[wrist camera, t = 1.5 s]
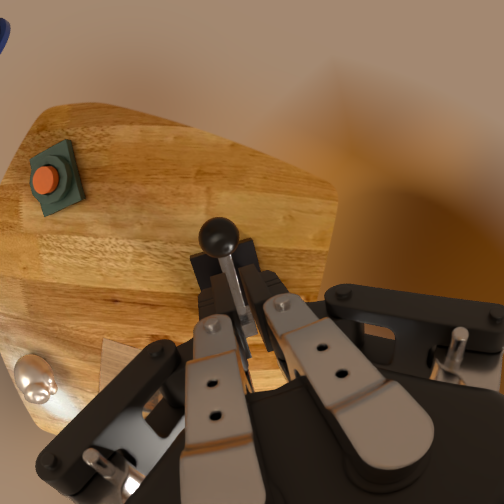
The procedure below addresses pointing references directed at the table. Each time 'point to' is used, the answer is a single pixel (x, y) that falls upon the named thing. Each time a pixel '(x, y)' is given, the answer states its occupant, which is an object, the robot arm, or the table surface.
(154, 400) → the architectural model on board
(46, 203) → the button box
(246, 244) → the bracket
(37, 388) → the silver rounded lump
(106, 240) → the table surface
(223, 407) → the robot arm
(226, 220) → the lever
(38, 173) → the button
